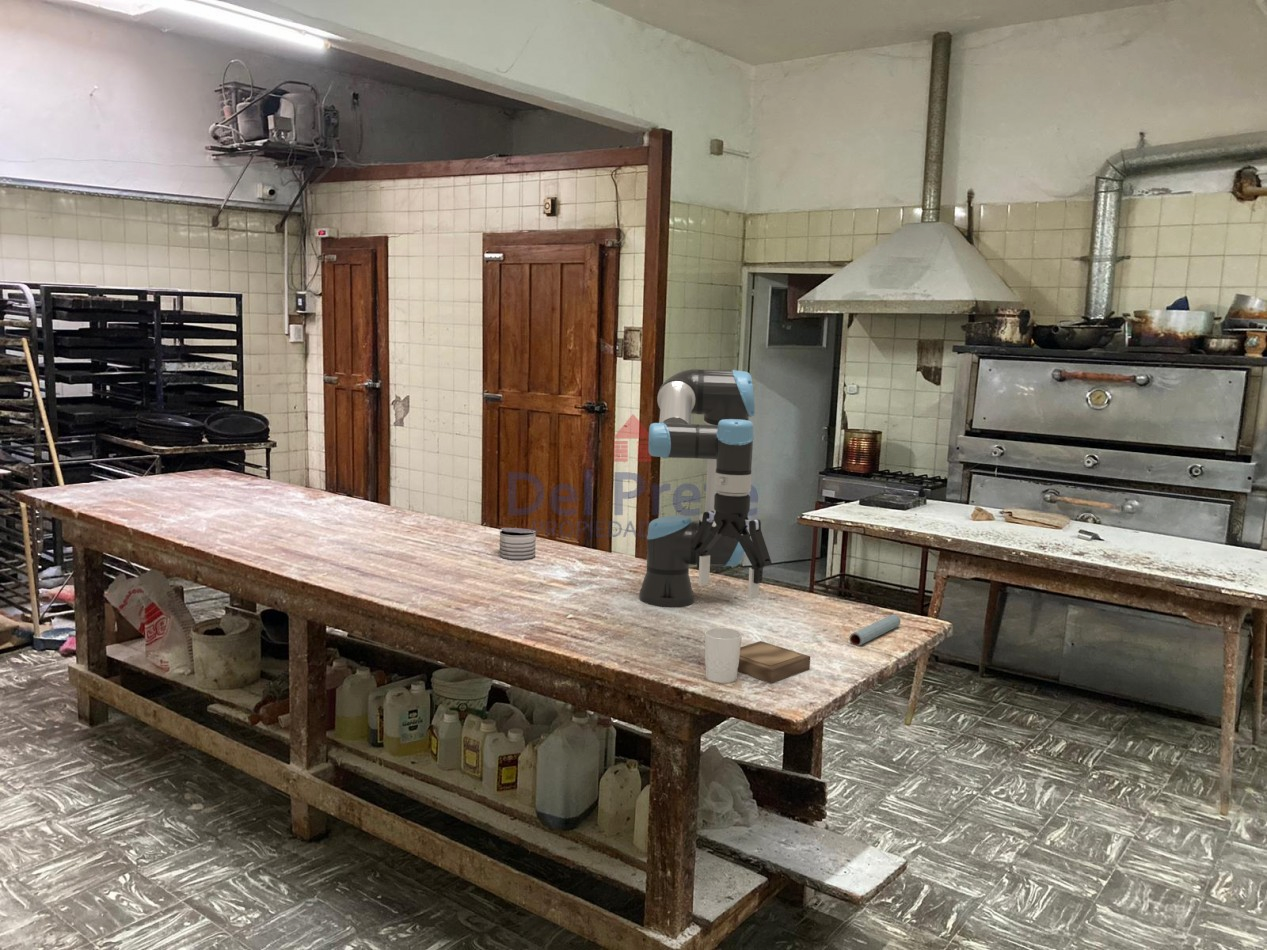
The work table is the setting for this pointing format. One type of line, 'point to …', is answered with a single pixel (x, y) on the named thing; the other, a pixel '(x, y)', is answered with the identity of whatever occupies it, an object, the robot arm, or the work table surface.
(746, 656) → the base
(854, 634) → the aluminum foil
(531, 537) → the can
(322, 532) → the work table surface
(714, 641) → the white cup
